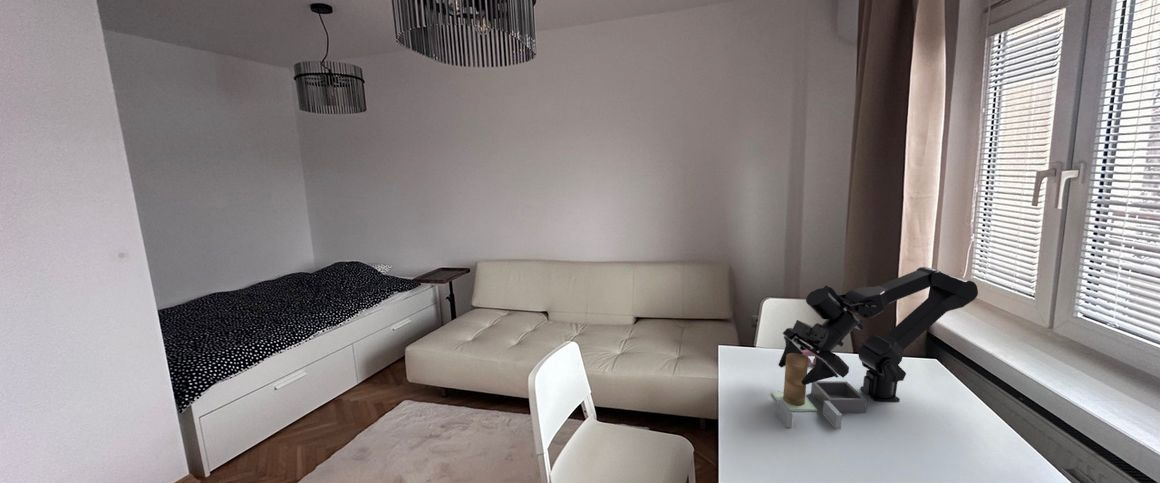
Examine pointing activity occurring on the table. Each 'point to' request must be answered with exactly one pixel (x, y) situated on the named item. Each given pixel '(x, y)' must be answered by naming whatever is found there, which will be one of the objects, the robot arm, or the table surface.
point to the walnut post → (795, 379)
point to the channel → (828, 412)
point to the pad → (806, 407)
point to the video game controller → (808, 353)
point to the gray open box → (839, 396)
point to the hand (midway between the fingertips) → (790, 374)
